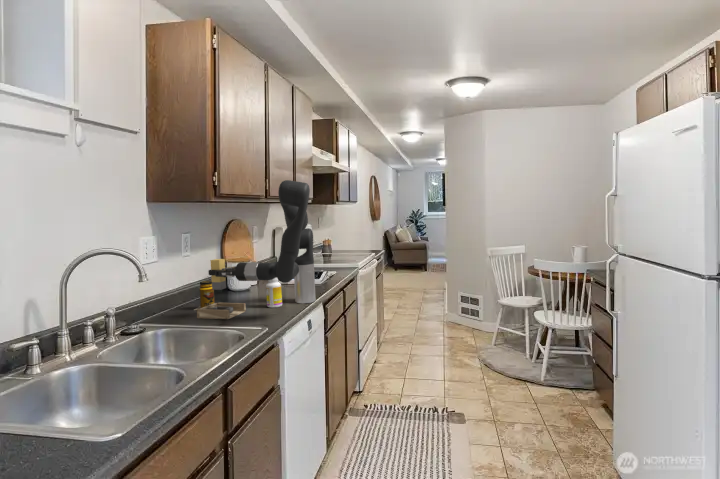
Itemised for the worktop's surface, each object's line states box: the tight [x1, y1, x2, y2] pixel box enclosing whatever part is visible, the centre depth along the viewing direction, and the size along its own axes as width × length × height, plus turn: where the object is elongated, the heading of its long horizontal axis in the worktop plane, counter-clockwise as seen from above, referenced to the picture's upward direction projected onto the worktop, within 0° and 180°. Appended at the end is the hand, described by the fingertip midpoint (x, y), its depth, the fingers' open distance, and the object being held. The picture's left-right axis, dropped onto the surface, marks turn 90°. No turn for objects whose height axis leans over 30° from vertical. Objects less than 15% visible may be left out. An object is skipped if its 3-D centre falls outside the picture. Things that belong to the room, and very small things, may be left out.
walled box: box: [196, 302, 247, 320], centre depth 199 cm, size 14×14×4 cm
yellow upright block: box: [210, 258, 227, 291], centre depth 197 cm, size 4×4×12 cm
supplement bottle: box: [265, 278, 283, 309], centre depth 212 cm, size 7×7×13 cm
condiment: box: [194, 280, 216, 311], centre depth 213 cm, size 7×8×12 cm
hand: (212, 271), depth 198 cm, fingers closed on yellow upright block, 4 cm apart
